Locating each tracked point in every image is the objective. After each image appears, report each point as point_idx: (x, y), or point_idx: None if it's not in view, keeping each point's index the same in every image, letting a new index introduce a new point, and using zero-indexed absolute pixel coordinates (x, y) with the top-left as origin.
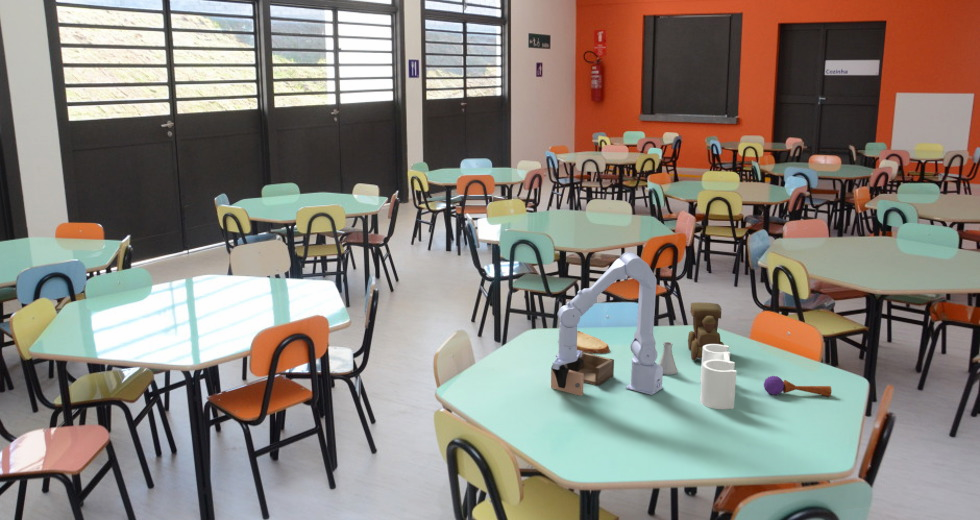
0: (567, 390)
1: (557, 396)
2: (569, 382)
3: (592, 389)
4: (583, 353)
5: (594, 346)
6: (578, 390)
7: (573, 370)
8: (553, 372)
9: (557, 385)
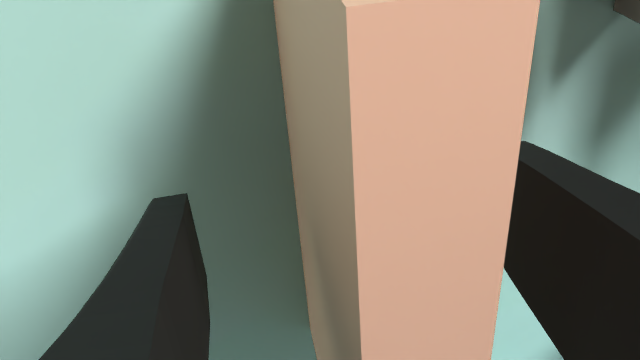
0: (298, 198)
1: (73, 192)
2: (322, 313)
3: None
4: None
5: None
6: (318, 353)
7: (600, 344)
8: (319, 44)
9: (285, 51)
